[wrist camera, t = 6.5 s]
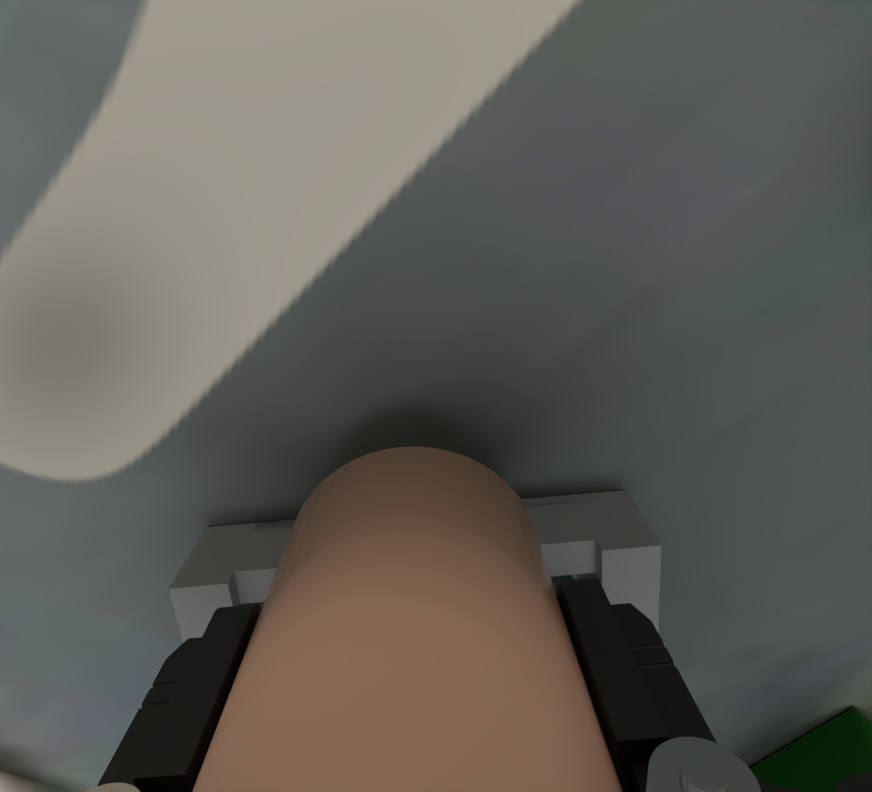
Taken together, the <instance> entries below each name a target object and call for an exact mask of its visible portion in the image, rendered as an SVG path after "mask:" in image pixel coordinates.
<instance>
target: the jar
mask: <svg viewBox="0 0 872 792" xmlns="http://www.w3.org/2000/svg"><path fill="white" fill-rule="evenodd" d="M192 792H623V791H622V788H621V785H620V782H619V779H618V776H617V774H616V771H615V768H614V765H613V762H612V759H611V756H610V753H609V750H608V747H607V744H606V741H605V738H604V735H603V732H602V729H601V726H600V723H599V720H598V717H597V714H596V711H595V708H594V705H593V702H592V699H591V696H590V693H589V690H588V687H587V684H586V681H585V678H584V675H583V672H582V669H581V666H580V663H579V660H578V657H577V654H576V651H575V648H574V645H573V642H572V639H571V636H570V633H569V630H568V627H567V624H566V621H565V618H564V615H563V612H562V609H561V606H560V603H559V600H558V597H557V594H556V591H555V588H554V585H553V582H552V579H551V576H550V573H549V570H548V567H547V564H546V561H545V558H544V555H543V552H542V549H541V547H540V544H539V541H538V538H537V535H536V532H535V529H534V526H533V523H532V520H531V518H530V516H529V513H528V511H527V509H526V507H525V506H524V504H523V502H522V501H521V499H520V498H519V496H518V495H517V494H516V493H515V491H514V490H513V489H512V488H511V487H510V485H509V484H508V483H506V482H505V481H504V480H503V479H502V478H501V477H500V476H499V475H498V474H496V473H495V472H493V471H492V470H490V469H489V468H487V467H486V466H485V465H483V464H481V463H479V462H477V461H475V460H473V459H471V458H469V457H466V456H463V455H461V454H458V453H455V452H452V451H447V450H443V449H438V448H430V447H420V446H417V447H397V448H390V449H384V450H380V451H377V452H373V453H369V454H367V455H364V456H362V457H359V458H357V459H354V460H352V461H350V462H349V463H347V464H345V465H343V466H342V467H340V468H338V469H337V470H335V471H334V472H333V473H331V474H330V475H329V476H328V477H326V478H325V479H324V480H323V481H322V482H321V483H320V484H319V485H318V486H317V487H316V488H315V489H314V490H313V491H312V493H311V494H310V495H309V497H308V498H307V499H306V501H305V502H304V504H303V506H302V508H301V510H300V511H299V513H298V515H297V518H296V520H295V523H294V526H293V528H292V531H291V534H290V536H289V539H288V541H287V544H286V547H285V549H284V552H283V555H282V557H281V560H280V563H279V565H278V568H277V570H276V573H275V576H274V578H273V581H272V584H271V586H270V589H269V591H268V594H267V597H266V599H265V602H264V605H263V607H262V610H261V612H260V615H259V618H258V620H257V623H256V626H255V628H254V631H253V633H252V636H251V639H250V641H249V644H248V647H247V649H246V652H245V654H244V657H243V660H242V662H241V665H240V668H239V670H238V673H237V675H236V678H235V681H234V683H233V686H232V689H231V691H230V694H229V696H228V699H227V702H226V704H225V707H224V710H223V712H222V715H221V717H220V720H219V723H218V725H217V728H216V731H215V733H214V736H213V739H212V741H211V744H210V746H209V749H208V752H207V754H206V757H205V760H204V762H203V765H202V767H201V770H200V773H199V775H198V778H197V781H196V783H195V786H194V788H193V791H192Z"/></svg>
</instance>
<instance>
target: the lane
mask: <svg viewBox="0 0 872 792" xmlns="http://www.w3.org/2000/svg"><path fill="white" fill-rule="evenodd" d="M521 501H522V502H523V504H524V506H525V507H526V509H527V511H528V513H529V516H530V518H531V520H532V523H533V526H534V529H535V532H536V535H537V538H538V541H539V544H540V547H541V549H542V552H543V555H544V558H545V561H546V564H547V567H548V570H549V573H550V576H551V577H553V576H564V575H572V577H573V579H582V578H595V577H597V578H598V579H599V581H600V582H601V585H602V587H603V589H604V591H605V593H606V596H607V598H608V600H609V602H610V604H611V605H612V604H625V603H631V604H632V605H633V606H634V607H636V608H637V609H638V610H639V611H640V612H642V613H643V614H644V615H645V616H646V617H647V618H649V619H650V620H651V621H652V623H653V624H654V626H655V628H656V630H657V632H658V629H659V602H660V575H661V549H662V545H661V544H660V542H659V541H658V539H657V538H656V536H655V535H654V533H653V532H652V531H651V529H650V528H649V526H648V525H647V523H646V522H645V520H644V519H643V517H642V516H641V514H640V513H639V511H638V510H637V509H636V507H635V506H634V504H633V503H632V501H631V500H630V498H629V497H628V495H627V494H626V492H625V491H624V490H620V491H608V492H597V493H586V494H575V495H563V496H552V497H541V498H529V499H521ZM295 520H296V519H292V520H281V521H270V522H258V523H247V524H236V525H224V526H213V527H207V529H206V530H205V532H204V534H203V535H202V537H201V538H200V540H199V541H198V543H197V545H196V546H195V548H194V549H193V551H192V553H191V554H190V556H189V557H188V559H187V560H186V562H185V564H184V565H183V567H182V568H181V570H180V572H179V573H178V575H177V576H176V578H175V579H174V581H173V583H172V584H171V586H170V587H169V592H170V596H171V600H172V604H173V607H174V611H175V615H176V619H177V622H178V626H179V630H180V633H181V637H182V641H183V643H184V642H185V641H186V640H187V639H188V638H198V637H202V636H203V634H204V632H205V630H206V628H207V626H208V624H209V622H210V620H211V618H212V616H213V614H214V612H215V610H216V609H217V608H220V607H231V606H244V605H256V604H258V605H259V606H260V607H261V609H262V607H263V605H264V602H265V599H266V597H267V594H268V591H269V589H270V586H271V584H272V581H273V578H274V576H275V573H276V570H277V568H278V565H279V563H280V560H281V557H282V555H283V552H284V549H285V547H286V544H287V541H288V539H289V536H290V534H291V531H292V528H293V526H294V523H295Z"/></svg>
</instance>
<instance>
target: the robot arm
mask: <svg viewBox="0 0 872 792" xmlns="http://www.w3.org/2000/svg"><path fill="white" fill-rule="evenodd" d="M557 597H558V600H559V603H560V606H561V609H562V612H563V615H564V618H565V621H566V624H567V627H568V630H569V633H570V636H571V639H572V642H573V645H574V648H575V651H576V654H577V657H578V660H579V663H580V666H581V669H582V672H583V675H584V678H585V681H586V684H587V687H588V690H589V693H590V696H591V699H592V702H593V705H594V708H595V711H596V714H597V717H598V720H599V723H600V726H601V729H602V732H603V735H604V738H605V741H606V744H607V747H608V750H609V753H610V756H611V759H612V762H613V765H614V768H615V771H616V774H617V776H618V779H619V782H620V785H621V788H622V791H623V792H807V791H803V790H798V789H793V788H788V787H784V786H780V785H777V784H773V783H771V782H768V781H766V780H763V779H761V778H759V777H757V776H755V775H754V774H753V772H752V771H751V770H750V768H749V767H748V766H747V765H746V764H745V763H744V762H743V761H742V760H741V759H740V758H739V757H738V756H737V755H735V754H734V753H733V752H731V751H730V750H728V749H727V748H725V747H723V746H722V745H719V744H718V743H717V742H716V740H715V739H714V737H713V735H712V733H711V731H710V729H709V727H708V726H707V724H706V722H705V720H704V718H703V716H702V714H701V713H700V711H699V709H698V707H697V705H696V703H695V701H694V699H693V698H692V696H691V694H690V692H689V690H688V688H687V686H686V684H685V683H684V681H683V679H682V677H681V675H680V673H679V671H678V669H677V668H676V666H675V667H674V663H673V660H672V658H671V656H670V654H669V653H668V651H667V649H666V648H664V643H663V641H662V639H661V638H660V636H659V634H658V632H657V630H656V628H655V626H654V624H653V623H652V621H651V620H650V619H649V618H647V617H646V616H645V615H644V614H643V613H642V612H640V611H639V610H638V609H637V608H636V607H634V606H633V605H632V604H631V603H625V604H612V605H611V604H610V602H609V600H608V598H607V596H606V593H605V591H604V589H603V587H602V585H601V582H600V581H599V579H598V578H597V577H595V578H582V579H570V580H558V582H557ZM261 610H262V609H261V607H260V606H259V605H258V604H256V605H244V606H231V607H220V608H217V609H216V610H215V612H214V614H213V616H212V618H211V620H210V622H209V624H208V626H207V628H206V630H205V632H204V634H203V636H202V637H198V638H188V639H187V640H186V641H185V642H184V643H183V644H182V645H181V646H180V647H179V648H178V649H177V650H175V651H174V652H173V653H172V654H171V655H170V656H169V657H168V658H167V659H166V660H165V662H164V664H163V666H162V668H161V669H160V671H159V673H158V675H157V677H156V679H155V681H154V682H153V688H151V689H150V690H149V692H148V693H147V695H146V697H145V699H144V701H143V703H142V708H141V709H139V710H138V712H137V714H136V715H135V717H134V719H133V721H132V723H131V725H130V726H129V728H128V730H127V732H126V734H125V736H124V737H123V739H122V741H121V743H120V745H119V747H118V749H117V750H116V752H115V754H114V756H113V758H112V760H111V761H110V763H109V765H108V767H107V769H106V771H105V772H104V774H103V776H102V778H101V780H100V782H99V783H98V785H97V787H94V788H92V789H89V790H87V791H85V792H192V791H193V788H194V786H195V783H196V781H197V778H198V775H199V773H200V770H201V767H202V765H203V762H204V760H205V757H206V754H207V752H208V749H209V746H210V744H211V741H212V739H213V736H214V733H215V731H216V728H217V725H218V723H219V720H220V717H221V715H222V712H223V710H224V707H225V704H226V702H227V699H228V696H229V694H230V691H231V689H232V686H233V683H234V681H235V678H236V675H237V673H238V670H239V668H240V665H241V662H242V660H243V657H244V654H245V652H246V649H247V647H248V644H249V641H250V639H251V636H252V633H253V631H254V628H255V626H256V623H257V620H258V618H259V615H260V612H261ZM834 792H872V772H861V773H855V774H851V775H849V776H846V777H845V778H843V779H842V780H840V781H839V783H838V784H837V785H836V787H835V790H834Z"/></svg>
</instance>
